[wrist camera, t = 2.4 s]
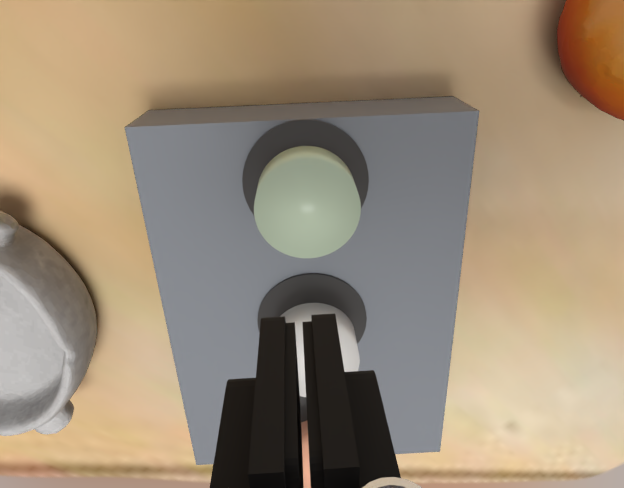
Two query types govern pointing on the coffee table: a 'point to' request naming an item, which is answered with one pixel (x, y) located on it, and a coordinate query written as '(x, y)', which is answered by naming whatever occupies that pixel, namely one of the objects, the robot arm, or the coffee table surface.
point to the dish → (40, 332)
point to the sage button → (306, 202)
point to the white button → (344, 330)
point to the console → (310, 271)
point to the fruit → (594, 51)
